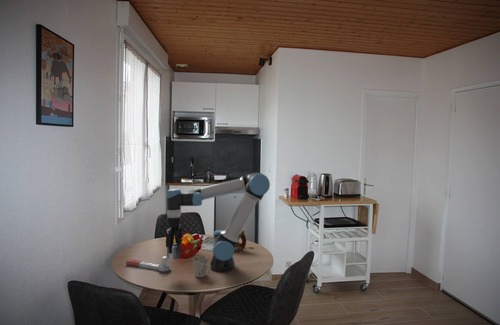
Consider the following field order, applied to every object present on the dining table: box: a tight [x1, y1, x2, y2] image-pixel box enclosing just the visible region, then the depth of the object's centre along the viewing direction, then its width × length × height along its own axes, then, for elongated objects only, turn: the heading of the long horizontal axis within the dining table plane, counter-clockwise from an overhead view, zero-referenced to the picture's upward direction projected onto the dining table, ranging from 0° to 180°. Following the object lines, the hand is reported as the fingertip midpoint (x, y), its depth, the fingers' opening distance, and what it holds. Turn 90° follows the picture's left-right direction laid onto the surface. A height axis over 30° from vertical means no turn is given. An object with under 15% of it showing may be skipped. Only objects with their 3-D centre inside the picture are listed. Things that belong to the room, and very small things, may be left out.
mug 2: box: [234, 230, 247, 253], centre depth 231 cm, size 11×16×15 cm, turn 72°
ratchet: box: [125, 256, 171, 274], centre depth 194 cm, size 30×7×8 cm, turn 71°
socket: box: [166, 242, 182, 261], centre depth 181 cm, size 6×6×7 cm
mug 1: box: [192, 255, 211, 278], centre depth 183 cm, size 8×13×10 cm, turn 51°
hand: (174, 256), depth 181 cm, fingers closed on socket, 6 cm apart
